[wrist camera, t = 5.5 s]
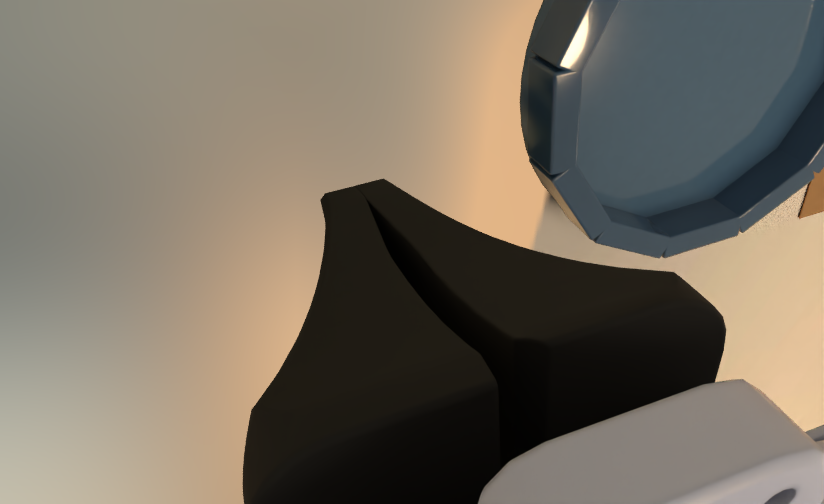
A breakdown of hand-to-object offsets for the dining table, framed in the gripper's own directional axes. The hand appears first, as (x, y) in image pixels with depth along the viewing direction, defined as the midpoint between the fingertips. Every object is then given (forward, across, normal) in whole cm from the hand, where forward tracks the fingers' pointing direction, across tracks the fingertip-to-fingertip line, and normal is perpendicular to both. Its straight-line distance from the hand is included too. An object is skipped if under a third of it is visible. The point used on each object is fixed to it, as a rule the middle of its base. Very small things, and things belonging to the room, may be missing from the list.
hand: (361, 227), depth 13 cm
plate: (+5, -11, 0) cm, 12 cm away
